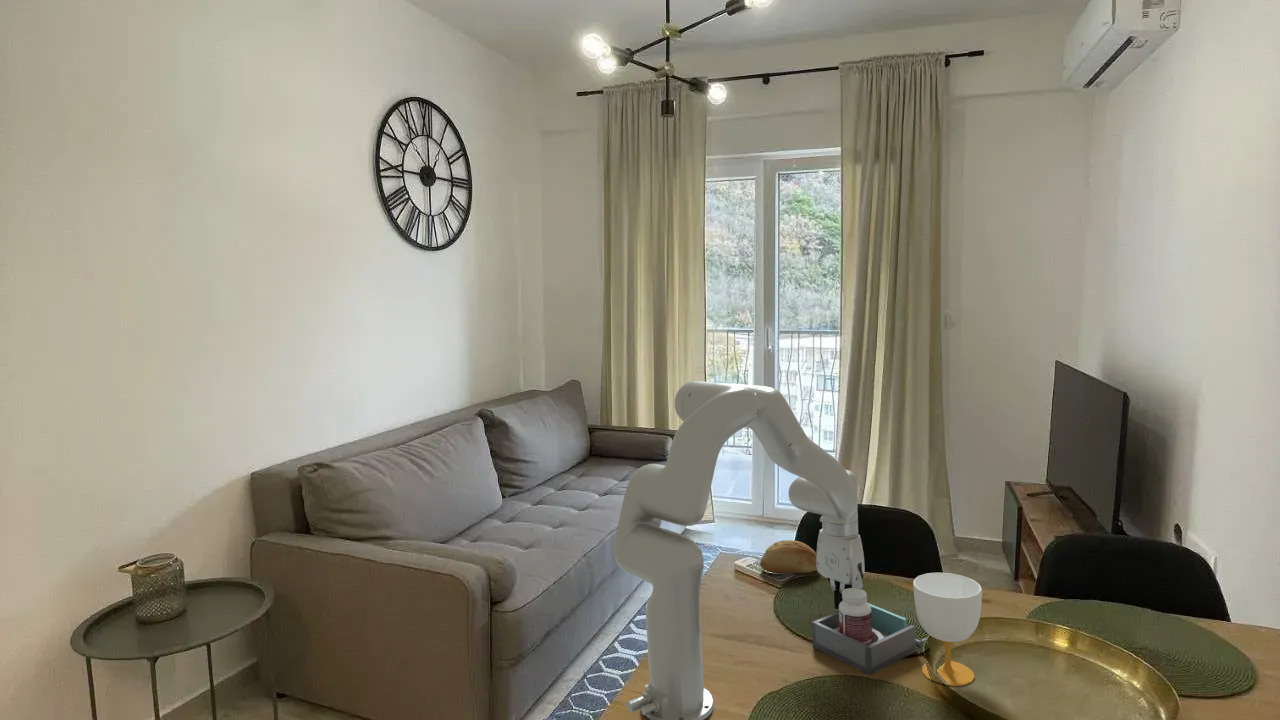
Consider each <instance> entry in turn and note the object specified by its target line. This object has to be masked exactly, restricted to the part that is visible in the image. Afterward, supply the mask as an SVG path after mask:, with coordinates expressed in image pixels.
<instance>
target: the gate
mask: <svg viewBox="0 0 1280 720" xmlns="http://www.w3.org/2000/svg"><path fill="white" fill-rule="evenodd" d="M869 605H870V606H871V616H872V626H873V627H875V628H877V629H880V630H882V631H884V632H887V633H889V634H893V633H896V632H898V631H900V630H902V629H904V628H906V627H908V619H907V617H903V616H901V615H898V614H896V613H893V612H891V611H889V610H886V609H884V608H881V607H879V606H877V605H874V604H871V603H869Z"/></svg>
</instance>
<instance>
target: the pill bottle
mask: <svg viewBox="0 0 1280 720" xmlns="http://www.w3.org/2000/svg"><path fill="white" fill-rule="evenodd" d="M842 599H843V601H842V602H841V603H840V604H839V610H838V611H839V630H840V633H842V634H844V635H846V636H848V637H851V638H853V639H855V640H857V641H859V642H861V643H863V644H866V645H870V644H872V616H871V606H870V605H869V604H870V603H869V602H867V601H868V593H867V592H866V590H864V589H863V588H861V589H858V588H848V589H845V590H843V591H842Z"/></svg>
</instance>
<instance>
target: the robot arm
mask: <svg viewBox="0 0 1280 720" xmlns="http://www.w3.org/2000/svg"><path fill="white" fill-rule="evenodd" d="M674 409H675V412H676V415H677V416H678V417H679V419H680V420H681V421H682V423H681V424H680V426H679V428H677V431H675V434H674V436H673V438H672V442H671V445H670V449H669V450H668V451H669V452H668V456H667V458H666V463H665V465H663V464H657V463H649V464H645V465H643V466H641V467H640V468H638V469H637V470H636V471H635V472H634V473H633V474H632V476H631V477H630V479H629V481H628V483H627V486H626V487H625V488H626V489H625V492H624V495H623V500H622V504H621V508H620V509H621V510H620V513H619V518H618V523H617V526H616V532H615V536H614V543H613V554H614V555H613V557H614V560H615V562H616V564H617V566H618V567H619V568H620V569H621V570H622V571H623V572H625V573H627V574H629V575H631V576H633V577H634V578H638V579H640V580H643V581H645V582H646V583H648V584H650V585H651V586H652V592H651V595H650V597H649V599H648V600H647V601H648V602H647V603H646V606H645V607H646V608H645V626H646V640H647V642H646V643H647V658H648V675H649V678H648V679H649V683H647V684H645V685H644V692H642V693H641V694H640V696H638V697H635V698H633V699H630V700H628V701H626V703H625V704H626V709H627V712H629V713H630V714H632V713H634V712H637V711H639V710H640V712H641V714H642V715H643V716H645V717H646V718H647V719H648V720H705V719H707V718H708V717H709V716H710V715H711V713H712V712H713V710H714V698H713V695H712V694H711V692H710V691H709V690H708V689H706V688H705V684H704V665H703V663H704V662H703V646H702V645H703V643H702V642H703V640H702V624H701V623H702V622H701V586H702V579H703V573H704V567H705V566H704V565H705V563H704V561H705V560H704V556H703V551H702V549H701V548H700V546H699V545H698V544H697V543H696V542H695V541H694V540H693V539H692V538H689V537H688V536H686V535H684V534H682V533H679V532H676V531H673V530H669V529H666V528H662V527H661V523H662V522H663V521H664V522H666V523H671V524H674V525H677V526H682V527H693V526H695V525H697V524H699V523H700V522H701V521H702V520H703V518H704V516H705V513H706V511H707V508H708V504H709V503H708V502H709V498H710V494H711V489H712V485H713V478H714V474H715V470H716V466H717V461H718V457H719V454H720V452H721V450H722V449H723V447H724V446H725V444H726V442H727V441H728V440H729V439H730V438H731V437H732V436H734V435H735V434H736V433H738V432H740V431H741V430H743V429H744V428H748V429H750V430H751V431H753V433H754V435H755V436H756V438H757V439H758V441H759V443H760V444H761V445H762V447H763V448H764V450H765V452H766V454H767V455H768V457H769V458H770V460H771V461H772V463H774V464H775V465H777V466H778V467H779V468H781V469H783V470H785V471H787V472H788V473H790V474H793V475H795V476H797V478H795V479H794V480H793V481H792V482H791V484H790V486H789V488H788V500H789V501H790V503H791V505H793V507H795V508H796V509H798V510H801V511H804V512H809V513H812V514H817V515H821V516H820V518H819V522H820V523H821V524H822V525H821V527H822V528H821V529H819V532H818V537H817V543H816V554H817V558H816V565H817V570H816V571H817V573H819V575H820V576H823V577H824V578H826V579H827V581H828V582H829V584H830V589H831V590H832V591H833V603H834V606H833V607H834V609H835V610H838V611H839V604H840V603H841V602H842V601H843V599H842V591H843V590H845V589H848V588H858V589H863V587H864V584H863V580H864V578H865V568H866V567H865V556H864V550H863V549H864V548H863V543H862V538H861V534H859V519H858V518H859V514H858V513H859V512H858V511H859V510H858V504H859V503H858V502H859V500H858V499H859V498H858V497H859V496H858V479H857V478H858V477H857V476H856V474H855V472H853V471H852V470H849V469H846V468H845V467H844V466H843V464H841V463H840V462H839V460H837V459H836V458H835V457H833V456H832V455H830V454H829V453H828V452H827V451H826V450H825V449H823V448H822V447H821V446H819V445H818V444H816V443H815V442H814V441H812V439H810V438H809V437H808V436H807V434H806V432H805V431H804V429H803V427H802V426H801V424H800V423H799V421H798V419H797V417H796V416H795V413H794V412H793V410H792V408H791V407H790V405H789V402H788V401H787V400H786V398H785V396H784V395H783V394H782V393H781V392H780V391H779V390H778V389H775V388H774V387H770V386H765V385H757V384H756V385H754V384H743V383H726V382H725V383H724V382H710V381H700V380H699V381H698V380H697V381H696V380H694V381H693V380H692V381H689V382H686V383H685V384H683V385H682V386H681V387H680V388H679V389H678V391H677V392H676V394H675V397H674Z"/></svg>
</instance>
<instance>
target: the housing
mask: <svg viewBox="0 0 1280 720" xmlns="http://www.w3.org/2000/svg"><path fill="white" fill-rule="evenodd" d="M811 627H812V647H813V648H815V649H817V650H819V651H821V652H822V653H825V654H827V655H829V656H830V657H832V658H834V659H837V660H839V661H840V662H842V663H845V665H848V666H850V667H852V668H854V669H856V670H859V672H863V673H864V674H866V675H868V676H870V675H872V674H874V673H877V672H878V671H880V670H883V669H884V668H886V667H888V666H890V665H892V664H894V663H896V662H898V661H901V660H902V659H903V658H905V657H908V656H909V655H911V654H914V653H916V652H917V646H919V648H920V653H922V654H924V653H923V647H924V644H925V642H926V641H927V642H928V638H927V637H924V638H922V639H917V638H916V626H915V625H914V624H913V625H912V624H910V625H909V626H908V625H907V627H906V628H904V629H902V630H900V631H898V632H896V633H893V634H889V633H887V632H884V631H882V630H880V629H877V628H875V627H873V626H872V644H870V645H866V644H863V643H861V642H859V641H857V640H855V639H853V638H851V637H848V636H846V635H844V634H842V633H840V630H839V610H838V611H835V612H833V613H831V614H828V615H826V616H824V617H821V618H818V619H817V620H814V621H812V622H811Z"/></svg>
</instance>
